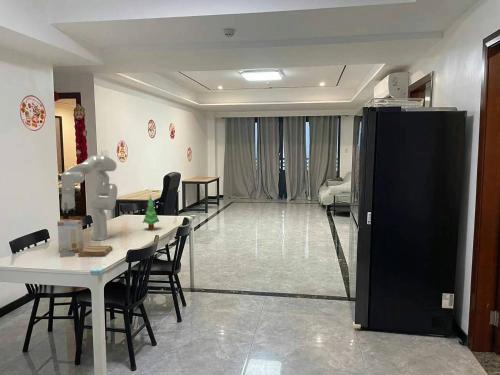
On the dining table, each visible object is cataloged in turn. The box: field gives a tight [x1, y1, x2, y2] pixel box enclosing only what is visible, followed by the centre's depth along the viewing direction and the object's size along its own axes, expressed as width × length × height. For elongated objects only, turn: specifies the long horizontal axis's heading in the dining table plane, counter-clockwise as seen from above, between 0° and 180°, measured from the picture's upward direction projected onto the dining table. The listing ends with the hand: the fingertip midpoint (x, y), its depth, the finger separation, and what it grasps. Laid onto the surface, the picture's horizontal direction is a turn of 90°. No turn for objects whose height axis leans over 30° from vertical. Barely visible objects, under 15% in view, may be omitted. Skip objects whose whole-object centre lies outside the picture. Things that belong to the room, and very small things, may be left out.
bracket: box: [59, 249, 76, 258], centre depth 226 cm, size 5×8×4 cm, turn 110°
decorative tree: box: [142, 194, 160, 231], centre depth 302 cm, size 14×16×30 cm
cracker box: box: [57, 219, 84, 253], centre depth 235 cm, size 14×6×21 cm, turn 84°
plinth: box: [77, 245, 113, 258], centre depth 231 cm, size 16×16×3 cm
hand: (69, 217), depth 233 cm, fingers open, 9 cm apart
